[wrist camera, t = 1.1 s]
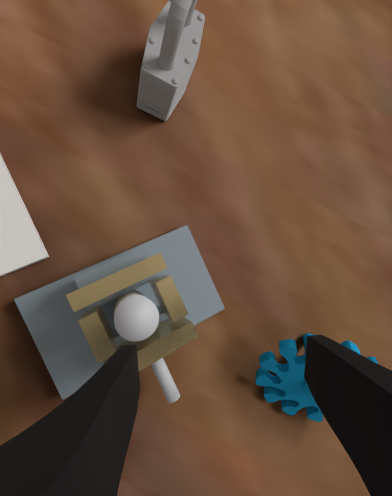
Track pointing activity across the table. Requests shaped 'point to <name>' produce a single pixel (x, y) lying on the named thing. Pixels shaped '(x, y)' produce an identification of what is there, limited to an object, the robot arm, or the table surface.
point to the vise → (117, 310)
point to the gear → (291, 379)
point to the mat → (16, 228)
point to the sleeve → (167, 332)
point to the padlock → (169, 57)
